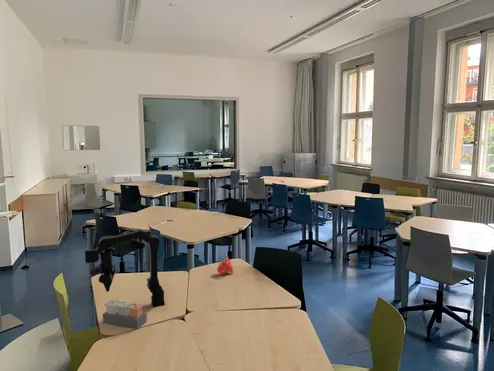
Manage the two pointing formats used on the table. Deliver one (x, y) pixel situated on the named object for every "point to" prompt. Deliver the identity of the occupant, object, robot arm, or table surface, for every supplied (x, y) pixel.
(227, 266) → the anatomical heart
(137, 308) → the key three dots
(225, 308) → the table surface
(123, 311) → the key two dots
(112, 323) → the key console
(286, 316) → the table surface
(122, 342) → the table surface
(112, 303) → the key one dot
